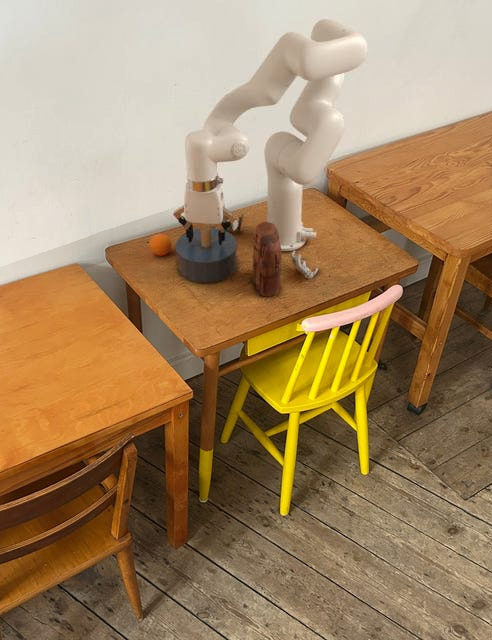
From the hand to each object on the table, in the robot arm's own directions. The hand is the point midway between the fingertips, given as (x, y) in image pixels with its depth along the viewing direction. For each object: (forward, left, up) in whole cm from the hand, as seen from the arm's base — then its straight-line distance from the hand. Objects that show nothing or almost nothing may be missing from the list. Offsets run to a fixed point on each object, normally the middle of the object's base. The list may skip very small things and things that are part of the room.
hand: (206, 240), depth 196 cm
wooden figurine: (-17, +6, -8) cm, 20 cm away
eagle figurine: (-2, -18, -8) cm, 20 cm away
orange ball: (+14, -4, -5) cm, 15 cm away
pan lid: (0, 0, -2) cm, 2 cm away
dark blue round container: (0, 0, -8) cm, 8 cm away
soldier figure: (-26, -1, -8) cm, 27 cm away
